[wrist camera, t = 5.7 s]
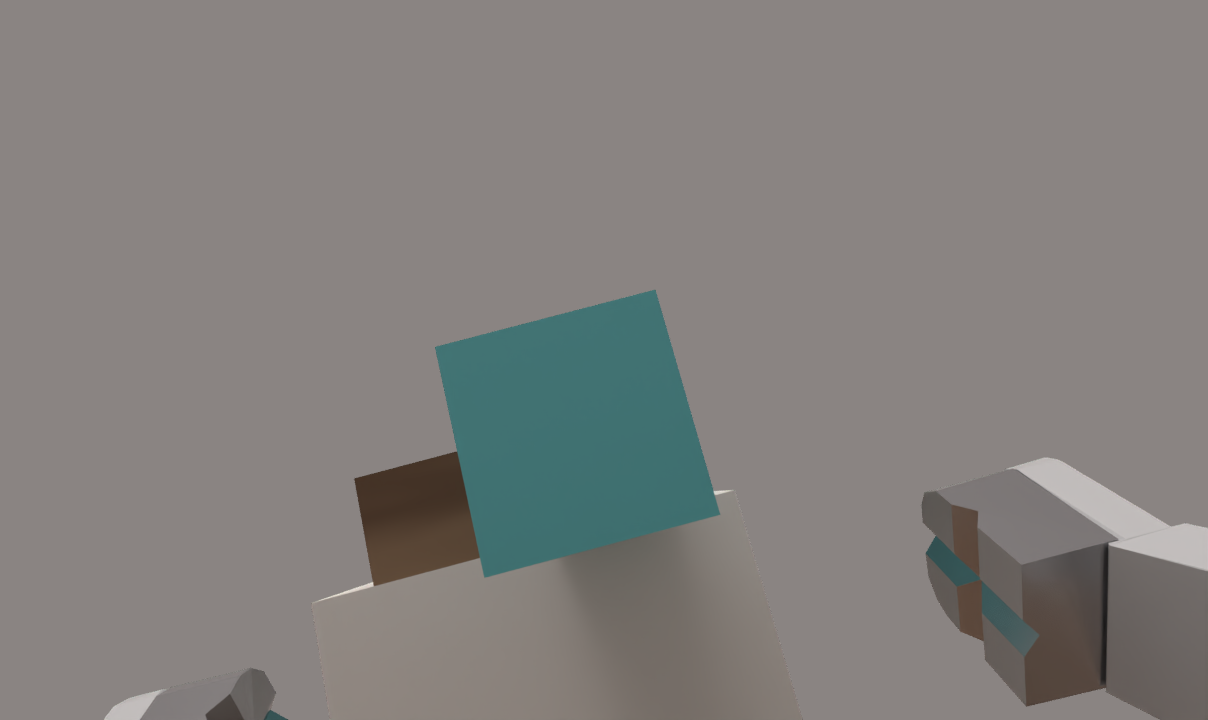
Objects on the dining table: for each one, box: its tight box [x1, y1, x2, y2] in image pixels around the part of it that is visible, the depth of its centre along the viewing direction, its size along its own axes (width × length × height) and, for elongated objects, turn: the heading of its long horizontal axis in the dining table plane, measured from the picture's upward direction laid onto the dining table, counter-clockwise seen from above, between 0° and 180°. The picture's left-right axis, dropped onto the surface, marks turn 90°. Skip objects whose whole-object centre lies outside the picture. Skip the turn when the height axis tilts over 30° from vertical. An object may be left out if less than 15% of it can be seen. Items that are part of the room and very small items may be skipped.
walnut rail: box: [355, 452, 480, 586], centre depth 24 cm, size 12×3×3 cm, turn 179°
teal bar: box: [435, 290, 720, 578], centre depth 22 cm, size 24×4×4 cm, turn 179°
